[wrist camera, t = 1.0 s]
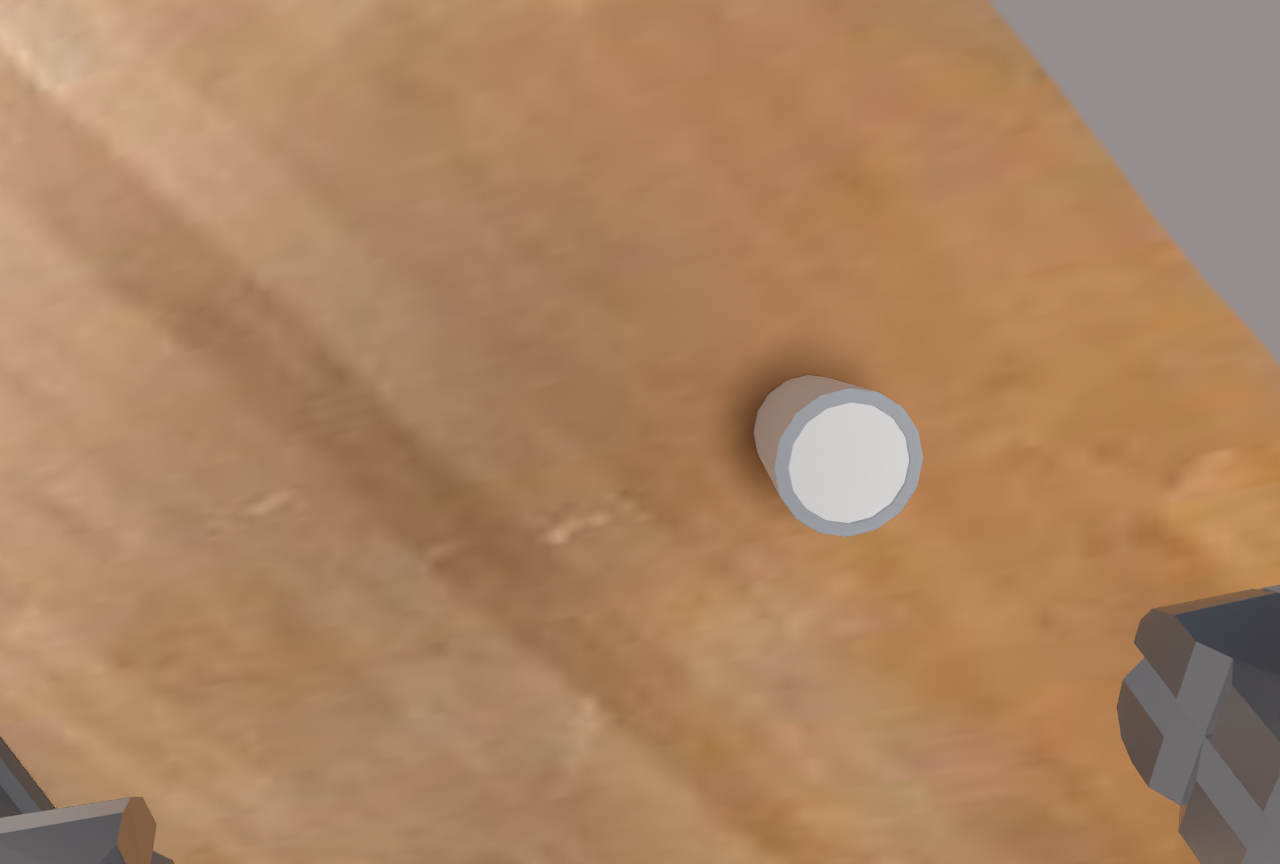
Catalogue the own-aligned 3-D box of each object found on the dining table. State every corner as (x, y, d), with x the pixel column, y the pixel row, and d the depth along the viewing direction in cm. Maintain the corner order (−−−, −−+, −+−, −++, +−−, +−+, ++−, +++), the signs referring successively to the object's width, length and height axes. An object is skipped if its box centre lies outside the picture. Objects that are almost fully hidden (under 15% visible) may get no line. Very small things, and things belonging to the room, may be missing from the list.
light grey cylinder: (872, 491, 60) (922, 532, 53) (741, 499, 59) (775, 542, 52) (875, 359, 58) (926, 384, 52) (740, 366, 57) (774, 392, 51)
